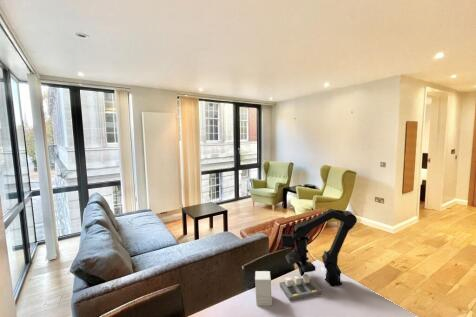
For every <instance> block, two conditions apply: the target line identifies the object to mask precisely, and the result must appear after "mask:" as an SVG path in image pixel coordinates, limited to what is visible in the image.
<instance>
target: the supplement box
mask: <svg viewBox="0 0 476 317" xmlns="http://www.w3.org/2000/svg"><path fill="white" fill-rule="evenodd" d="M254 284H255V286H254V287H255V300H256V306H272V305H273V302H272V301H273V299H272V298H273V296H272V278H271V271H269V270H261V271H259V270H255V273H254Z"/></svg>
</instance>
